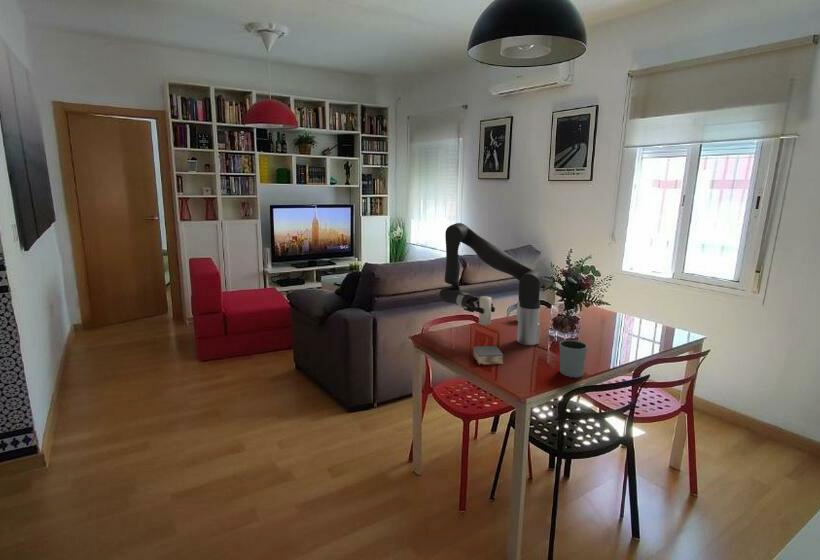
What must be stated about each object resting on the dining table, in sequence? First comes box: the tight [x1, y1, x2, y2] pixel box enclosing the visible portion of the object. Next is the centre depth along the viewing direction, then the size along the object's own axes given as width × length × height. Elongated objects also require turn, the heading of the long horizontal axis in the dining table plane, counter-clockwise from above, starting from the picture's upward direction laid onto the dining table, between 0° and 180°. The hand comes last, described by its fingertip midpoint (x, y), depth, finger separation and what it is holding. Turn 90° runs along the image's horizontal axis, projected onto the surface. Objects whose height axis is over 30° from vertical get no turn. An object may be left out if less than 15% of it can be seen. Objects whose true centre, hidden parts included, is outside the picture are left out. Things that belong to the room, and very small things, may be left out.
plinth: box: [472, 345, 504, 366], centre depth 190 cm, size 10×10×4 cm
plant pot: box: [558, 339, 588, 379], centre depth 177 cm, size 10×10×12 cm
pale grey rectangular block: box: [478, 295, 493, 326], centre depth 202 cm, size 5×5×12 cm
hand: (488, 310), depth 200 cm, fingers closed on pale grey rectangular block, 5 cm apart
